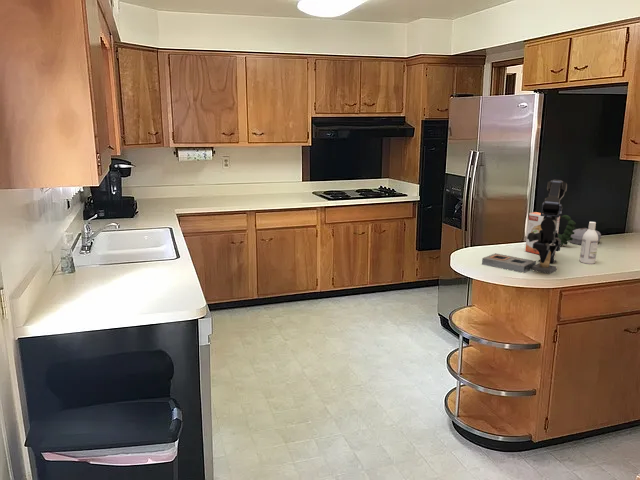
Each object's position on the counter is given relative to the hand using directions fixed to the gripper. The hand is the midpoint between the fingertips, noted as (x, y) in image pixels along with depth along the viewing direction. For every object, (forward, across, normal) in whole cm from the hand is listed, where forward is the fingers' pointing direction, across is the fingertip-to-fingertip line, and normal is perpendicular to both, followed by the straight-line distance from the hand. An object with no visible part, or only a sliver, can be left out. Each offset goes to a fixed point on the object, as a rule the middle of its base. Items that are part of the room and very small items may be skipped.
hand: (544, 261), depth 238 cm
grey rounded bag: (+5, -80, -7) cm, 80 cm away
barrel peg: (+2, 0, 0) cm, 2 cm away
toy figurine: (+4, -61, -19) cm, 64 cm away
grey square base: (+4, 0, 0) cm, 4 cm away
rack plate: (+4, +4, -15) cm, 16 cm away
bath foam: (+4, -32, +9) cm, 34 cm away
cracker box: (+4, -32, -14) cm, 35 cm away
